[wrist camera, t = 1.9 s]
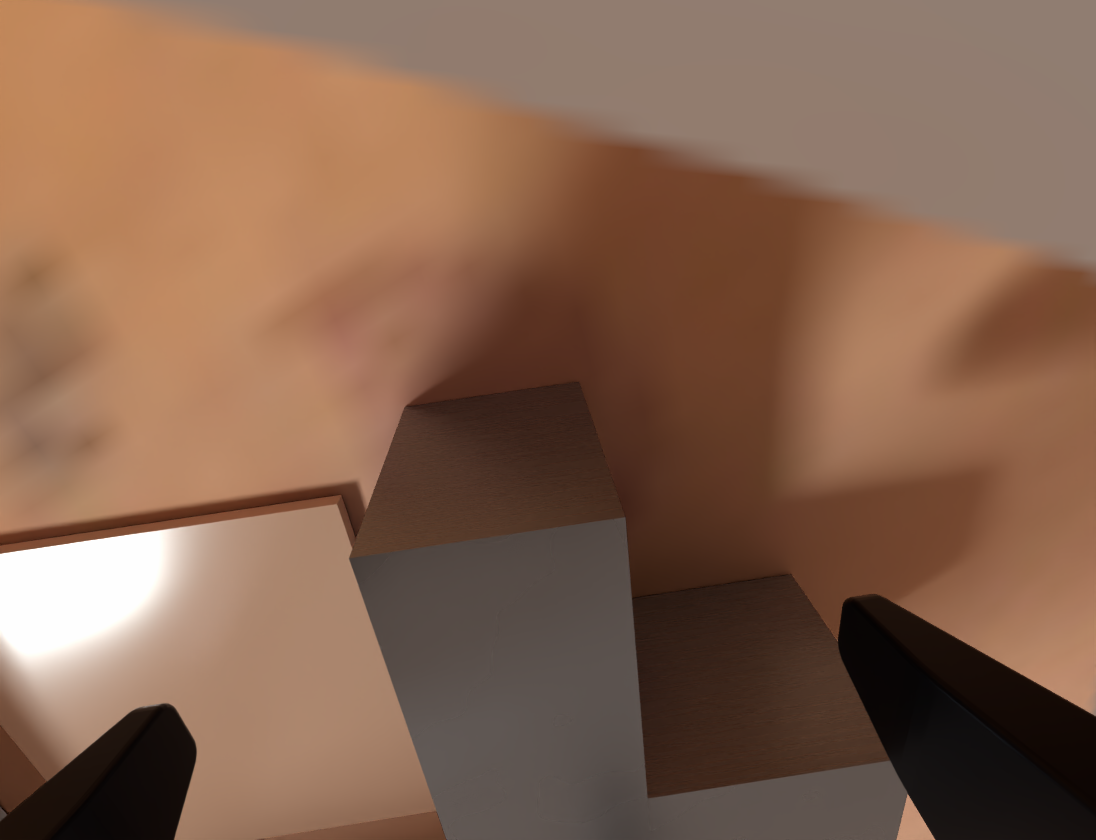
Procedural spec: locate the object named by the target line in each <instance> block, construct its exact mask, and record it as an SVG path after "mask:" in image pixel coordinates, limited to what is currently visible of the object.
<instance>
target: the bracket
mask: <svg viewBox="0 0 1096 840" xmlns="http://www.w3.org/2000/svg"><path fill="white" fill-rule="evenodd" d="M349 560H350V563H351V566H352V569H353V572H354V575H355V577H356V580H357V583H358V586H359V589H360V592H361V595H362V598H363V601H364V603H365V606H366V609H367V612H368V615H369V618H370V621H371V624H372V626H373V629H374V632H375V635H376V638H377V641H378V644H379V647H380V650H381V652H382V655H383V658H384V661H385V664H386V667H387V670H388V673H389V675H390V678H391V681H392V684H393V687H394V690H395V693H396V696H397V699H398V701H399V704H400V707H401V710H402V713H403V716H404V719H405V722H406V724H407V727H408V730H409V733H410V736H411V739H412V742H413V745H414V748H415V750H416V753H417V756H418V759H419V762H420V765H421V768H422V771H423V773H424V776H425V779H426V782H427V785H428V788H429V791H430V794H431V797H432V799H433V802H434V805H435V808H436V811H437V814H438V817H439V820H440V822H441V825H442V828H443V831H444V834H445V837H446V840H896V839H897V835H898V831H899V827H900V823H901V818H902V814H903V810H904V806H905V802H906V798H907V794H908V793H907V791H906V789H905V788H904V786H903V784H902V782H901V781H900V779H899V777H898V775H897V773H896V771H895V769H894V767H893V765H892V764H891V762H890V760H889V758H888V756H887V754H886V751H885V749H884V747H883V745H882V743H881V741H880V739H879V737H878V735H877V733H876V731H875V728H874V726H873V724H872V722H871V720H870V718H869V716H868V714H867V712H866V710H865V708H864V705H863V703H862V701H861V699H860V697H859V695H858V693H857V691H856V689H855V687H854V685H853V682H852V680H851V678H850V676H849V674H848V672H847V670H846V668H845V666H844V664H843V661H842V659H841V656H840V653H839V649H838V642H837V640H836V639H835V637H834V636H833V634H832V633H831V631H830V630H829V629H828V627H827V626H826V624H825V623H824V621H823V620H822V618H821V617H820V615H819V614H818V613H817V611H816V610H815V608H814V607H813V605H812V604H811V602H810V601H809V599H808V598H807V597H806V595H805V594H804V592H803V591H802V589H801V588H800V586H799V585H798V583H797V582H796V581H795V579H794V578H793V576H792V575H791V574H790V575H783V576H776V577H770V578H763V579H757V580H750V581H743V582H737V583H730V584H723V585H717V586H710V587H704V588H697V589H690V590H684V591H677V592H670V593H664V594H657V595H651V596H644V597H637V598H632V594H631V581H630V569H629V556H628V543H627V531H626V518H625V514H624V512H623V509H622V506H621V503H620V500H619V497H618V494H617V491H616V488H615V485H614V482H613V479H612V477H611V474H610V471H609V468H608V465H607V462H606V459H605V456H604V453H603V450H602V447H601V444H600V442H599V439H598V436H597V433H596V430H595V427H594V424H593V421H592V418H591V415H590V412H589V409H588V407H587V404H586V401H585V398H584V395H583V392H582V389H581V386H580V383H579V382H574V383H567V384H561V385H554V386H547V387H540V388H533V389H526V390H519V391H512V392H505V393H498V394H491V395H485V396H478V397H471V398H464V399H457V400H450V401H443V402H436V403H429V404H422V405H415V406H408V407H405V408H404V410H403V413H402V416H401V419H400V421H399V424H398V427H397V429H396V432H395V435H394V437H393V440H392V443H391V446H390V448H389V451H388V454H387V456H386V459H385V462H384V465H383V467H382V470H381V473H380V475H379V478H378V481H377V483H376V486H375V489H374V492H373V494H372V497H371V500H370V502H369V505H368V508H367V511H366V513H365V516H364V519H363V521H362V524H361V527H360V529H359V532H358V535H357V538H356V540H355V543H354V546H353V548H352V551H351V554H350V557H349Z"/></svg>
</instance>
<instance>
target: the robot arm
mask: <svg viewBox="0 0 1096 840" xmlns="http://www.w3.org/2000/svg"><path fill="white" fill-rule="evenodd" d="M838 649H839V653H840V656H841V659H842V661H843V664H844V666H845V668H846V670H847V672H848V674H849V676H850V678H851V680H852V682H853V685H854V687H855V689H856V691H857V693H858V695H859V697H860V699H861V701H862V703H863V705H864V708H865V710H866V712H867V714H868V716H869V718H870V720H871V722H872V724H873V726H874V728H875V731H876V733H877V735H878V737H879V739H880V741H881V743H882V745H883V747H884V749H885V751H886V754H887V756H888V758H889V760H890V762H891V764H892V765H893V767H894V769H895V771H896V773H897V775H898V777H899V779H900V781H901V782H902V784H903V786H904V788H905V789H906V791H907V793H908V795H909V796H910V798H911V800H912V801H913V803H914V805H915V806H916V808H917V810H918V811H919V813H920V815H921V817H922V818H923V820H924V822H925V823H926V825H927V827H928V828H929V830H930V832H931V833H932V835H933V837H934V838H935V840H1096V716H1094V715H1093V714H1091V713H1089V712H1087V711H1085V710H1084V709H1082V708H1080V707H1078V706H1077V705H1075V704H1073V703H1071V702H1069V701H1068V700H1066V699H1064V698H1062V697H1061V696H1059V695H1057V694H1055V693H1053V692H1052V691H1050V690H1048V689H1046V688H1045V687H1043V686H1041V685H1039V684H1037V683H1036V682H1034V681H1032V680H1030V679H1028V678H1027V677H1025V676H1023V675H1021V674H1020V673H1018V672H1016V671H1014V670H1012V669H1011V668H1009V667H1007V666H1005V665H1004V664H1002V663H1000V662H998V661H996V660H995V659H993V658H991V657H989V656H988V655H986V654H984V653H982V652H980V651H979V650H977V649H975V648H973V647H972V646H970V645H968V644H966V643H964V642H963V641H961V640H959V639H957V638H955V637H954V636H952V635H950V634H948V633H947V632H945V631H943V630H941V629H939V628H938V627H936V626H934V625H932V624H931V623H929V622H927V621H925V620H923V619H922V618H920V617H918V616H916V615H915V614H913V613H911V612H909V611H907V610H906V609H904V608H902V607H900V606H898V605H897V604H895V603H893V602H891V601H890V600H888V599H886V598H884V597H882V596H880V595H877V594H869V595H862V596H856V597H850V598H847V599H846V600H845V602H844V603H843V607H842V613H841V621H840V629H839V636H838ZM196 758H197V747H196V742H195V740H194V738H193V736H192V735H191V733H190V731H189V730H188V728H187V726H186V725H185V723H184V721H183V720H182V718H181V716H180V715H179V713H178V711H177V710H176V708H175V707H174V706H173V705H171V704H169V703H162V704H155V705H149V706H143V707H139V708H136V709H134V710H132V711H131V712H129V713H128V714H127V715H126V716H124V717H123V718H122V719H121V720H120V721H119V722H117V723H116V724H115V725H114V726H113V727H111V728H110V729H109V730H108V731H107V732H105V733H104V734H103V735H102V736H101V737H99V738H98V739H97V740H96V741H95V742H94V743H92V744H91V745H90V746H89V747H88V748H86V749H85V750H84V751H83V752H82V753H80V754H79V755H78V756H77V757H76V758H75V759H73V760H72V761H71V762H70V763H69V764H67V765H66V766H65V767H64V768H63V769H61V770H60V771H59V772H58V773H57V774H56V775H54V776H53V777H52V778H51V779H50V780H48V781H47V782H46V783H45V784H44V785H42V786H41V787H40V788H39V789H38V790H37V791H35V792H34V793H33V794H32V795H31V796H29V797H28V798H27V799H26V800H25V801H23V802H22V803H21V804H20V805H19V806H17V807H16V808H15V809H14V810H13V811H12V812H10V813H9V814H8V815H7V816H6V817H4V818H3V819H2V820H1V821H0V840H174V839H175V835H176V831H177V828H178V824H179V821H180V817H181V814H182V810H183V807H184V803H185V799H186V796H187V792H188V789H189V785H190V782H191V778H192V774H193V771H194V767H195V764H196Z"/></svg>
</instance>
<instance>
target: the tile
mask: <svg viewBox="0 0 1096 840" xmlns="http://www.w3.org/2000/svg"><path fill="white" fill-rule="evenodd" d="M355 540H356V538H355V535H354V532H353V529H352V526H351V523H350V520H349V517H348V514H347V511H346V508H345V505H344V502H343V499H342V496H341V495H337V496H330V497H323V498H316V499H310V500H303V501H296V502H289V503H283V504H276V505H269V506H263V507H256V508H249V509H242V510H236V511H229V512H222V513H215V514H209V515H202V516H195V517H188V518H182V519H175V520H168V521H162V522H155V523H148V524H141V525H135V526H128V527H121V528H114V529H108V530H101V531H94V532H87V533H81V534H74V535H67V536H61V537H54V538H47V539H40V540H34V541H27V542H20V543H13V544H7V545H0V725H1V726H2V727H3V729H4V730H5V731H6V732H7V734H8V735H9V736H10V737H11V739H12V740H13V741H14V742H15V744H16V745H17V746H18V747H19V748H20V750H21V751H22V752H23V753H24V755H25V756H26V757H27V758H28V760H29V761H30V762H31V763H32V765H33V766H34V767H35V768H36V769H37V771H38V772H39V773H40V774H41V776H42V777H43V778H44V779H45V781H46V782H47V781H48V780H50V779H51V778H52V777H53V776H54V775H56V774H57V773H58V772H59V771H60V770H61V769H63V768H64V767H65V766H66V765H67V764H69V763H70V762H71V761H72V760H73V759H75V758H76V757H77V756H78V755H79V754H80V753H82V752H83V751H84V750H85V749H86V748H88V747H89V746H90V745H91V744H92V743H94V742H95V741H96V740H97V739H98V738H99V737H101V736H102V735H103V734H104V733H105V732H107V731H108V730H109V729H110V728H111V727H113V726H114V725H115V724H116V723H117V722H119V721H120V720H121V719H122V718H123V717H124V716H126V715H127V714H128V713H129V712H131V711H132V710H134V709H136V708H139V707H143V706H149V705H155V704H162V703H169V704H171V705H173V706H174V707H175V708H176V710H177V711H178V713H179V715H180V716H181V718H182V720H183V721H184V723H185V725H186V726H187V728H188V730H189V731H190V733H191V735H192V736H193V738H194V740H195V742H196V747H197V758H196V764H195V767H194V771H193V774H192V778H191V782H190V785H189V789H188V792H187V796H186V799H185V803H184V807H183V810H182V814H181V817H180V821H179V824H178V828H177V831H176V835H175V839H174V840H259V839H265V838H271V837H277V836H284V835H290V834H296V833H302V832H309V831H315V830H321V829H328V828H334V827H340V826H346V825H353V824H359V823H365V822H372V821H378V820H384V819H390V818H397V817H403V816H409V815H415V814H422V813H428V812H434V811H436V808H435V805H434V802H433V799H432V797H431V794H430V791H429V788H428V785H427V782H426V779H425V776H424V773H423V771H422V768H421V765H420V762H419V759H418V756H417V753H416V750H415V748H414V745H413V742H412V739H411V736H410V733H409V730H408V727H407V724H406V722H405V719H404V716H403V713H402V710H401V707H400V704H399V701H398V699H397V696H396V693H395V690H394V687H393V684H392V681H391V678H390V675H389V673H388V670H387V667H386V664H385V661H384V658H383V655H382V652H381V650H380V647H379V644H378V641H377V638H376V635H375V632H374V629H373V626H372V624H371V621H370V618H369V615H368V612H367V609H366V606H365V603H364V601H363V598H362V595H361V592H360V589H359V586H358V583H357V580H356V577H355V575H354V572H353V569H352V566H351V563H350V560H349V557H350V554H351V551H352V548H353V546H354V543H355Z"/></svg>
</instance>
